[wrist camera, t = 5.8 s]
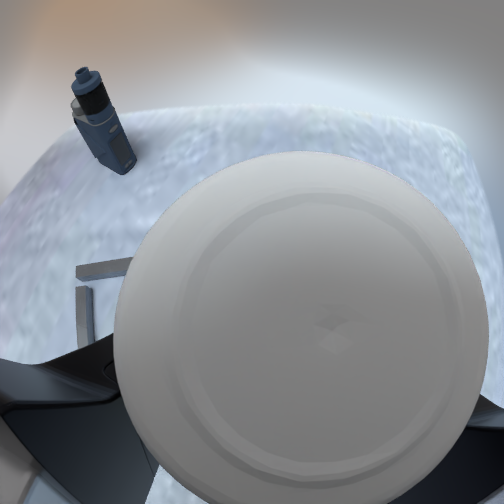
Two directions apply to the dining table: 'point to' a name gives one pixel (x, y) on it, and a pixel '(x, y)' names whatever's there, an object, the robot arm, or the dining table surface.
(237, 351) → the sprinkles bottle
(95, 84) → the vaping device
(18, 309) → the dining table surface
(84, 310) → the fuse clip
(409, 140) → the dining table surface
